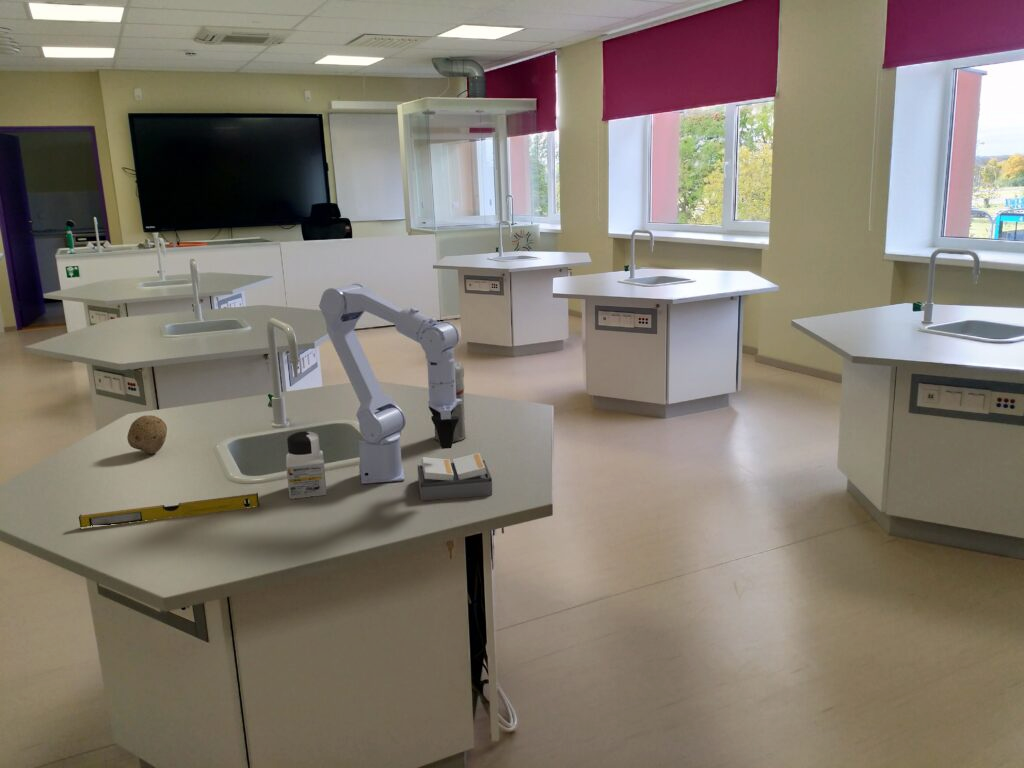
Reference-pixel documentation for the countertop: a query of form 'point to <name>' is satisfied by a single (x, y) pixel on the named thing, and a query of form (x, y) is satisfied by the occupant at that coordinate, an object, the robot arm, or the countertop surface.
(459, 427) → the spray can
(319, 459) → the container
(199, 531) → the countertop surface
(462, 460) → the rocker right
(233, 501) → the spirit level
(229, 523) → the countertop surface
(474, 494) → the grey divided tray
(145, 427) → the brown potato
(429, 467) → the panel
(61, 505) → the countertop surface
